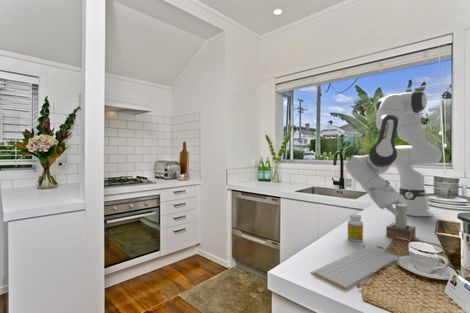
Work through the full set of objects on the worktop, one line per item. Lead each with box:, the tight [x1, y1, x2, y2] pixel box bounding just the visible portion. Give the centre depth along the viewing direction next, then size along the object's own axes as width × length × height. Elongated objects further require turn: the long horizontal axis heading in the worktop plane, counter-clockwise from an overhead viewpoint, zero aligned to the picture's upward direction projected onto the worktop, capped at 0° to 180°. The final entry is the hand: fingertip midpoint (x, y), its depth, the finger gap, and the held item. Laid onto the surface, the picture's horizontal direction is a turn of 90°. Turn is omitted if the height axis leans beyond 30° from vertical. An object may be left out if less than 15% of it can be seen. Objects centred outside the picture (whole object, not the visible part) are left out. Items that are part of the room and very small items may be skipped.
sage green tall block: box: [394, 204, 408, 230], centre depth 99 cm, size 4×3×12 cm
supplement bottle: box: [347, 213, 364, 243], centre depth 95 cm, size 5×5×10 cm
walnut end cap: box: [385, 222, 416, 242], centre depth 99 cm, size 9×8×4 cm
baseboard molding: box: [310, 244, 399, 291], centre depth 73 cm, size 31×3×12 cm
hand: (401, 213), depth 99 cm, fingers open, 8 cm apart
